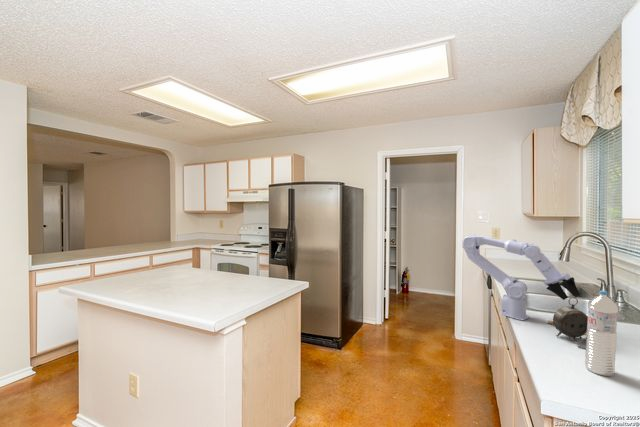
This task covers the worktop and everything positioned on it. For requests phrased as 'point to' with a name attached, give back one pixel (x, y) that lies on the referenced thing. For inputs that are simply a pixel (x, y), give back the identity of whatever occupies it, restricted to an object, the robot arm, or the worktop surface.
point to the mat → (582, 344)
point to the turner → (553, 324)
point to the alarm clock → (570, 321)
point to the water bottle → (601, 335)
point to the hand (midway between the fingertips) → (571, 297)
